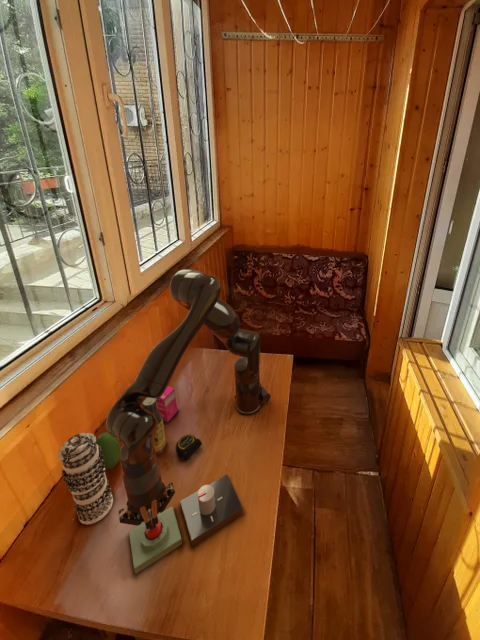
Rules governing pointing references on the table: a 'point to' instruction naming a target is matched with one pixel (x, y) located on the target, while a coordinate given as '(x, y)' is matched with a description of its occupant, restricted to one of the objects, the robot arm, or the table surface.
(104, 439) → the avocado
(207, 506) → the stove knob
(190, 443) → the tape measure
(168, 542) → the block
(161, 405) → the supplement box
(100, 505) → the decorative candle
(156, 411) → the sauce bottle
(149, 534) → the power button
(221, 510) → the hob panel
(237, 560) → the table surface
